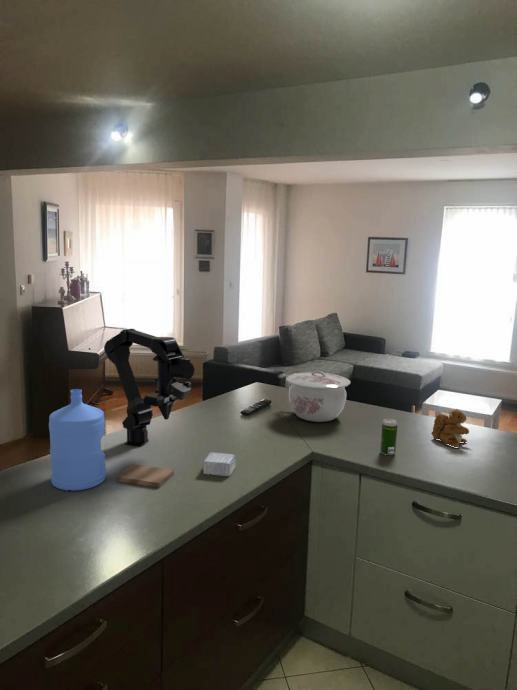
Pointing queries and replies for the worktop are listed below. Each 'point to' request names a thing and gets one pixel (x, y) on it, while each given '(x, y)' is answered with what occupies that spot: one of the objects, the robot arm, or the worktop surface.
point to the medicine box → (219, 464)
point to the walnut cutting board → (145, 475)
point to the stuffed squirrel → (450, 428)
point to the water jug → (77, 445)
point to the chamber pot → (317, 395)
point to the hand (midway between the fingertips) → (166, 419)
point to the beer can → (388, 437)
